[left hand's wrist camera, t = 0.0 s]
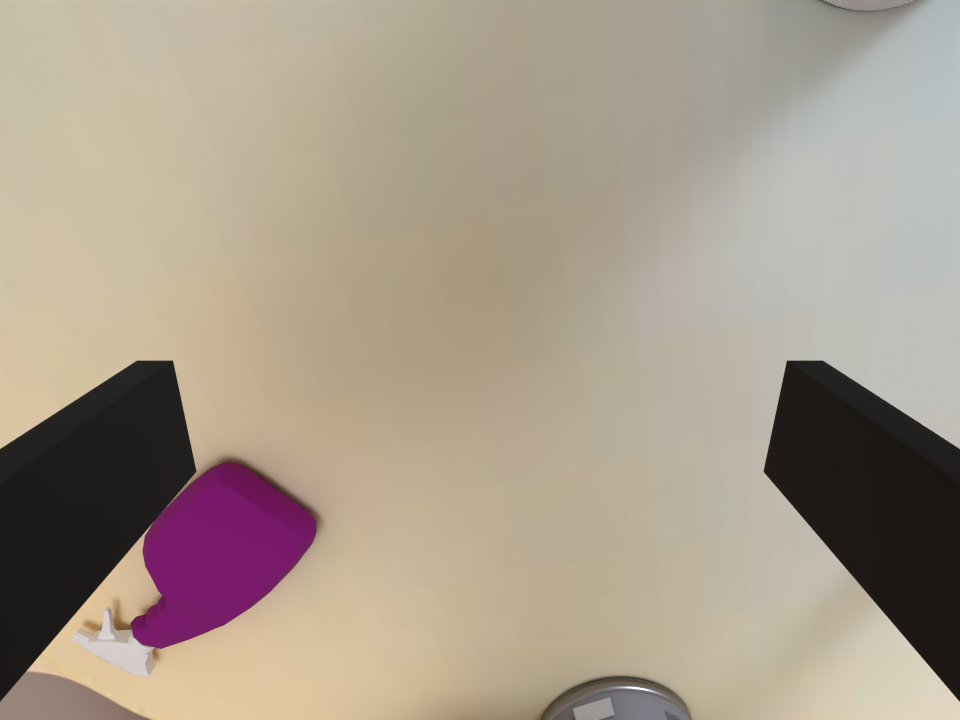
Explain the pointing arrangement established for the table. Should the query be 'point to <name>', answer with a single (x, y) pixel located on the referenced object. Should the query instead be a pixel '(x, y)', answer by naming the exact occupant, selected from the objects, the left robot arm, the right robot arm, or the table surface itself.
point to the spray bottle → (208, 563)
